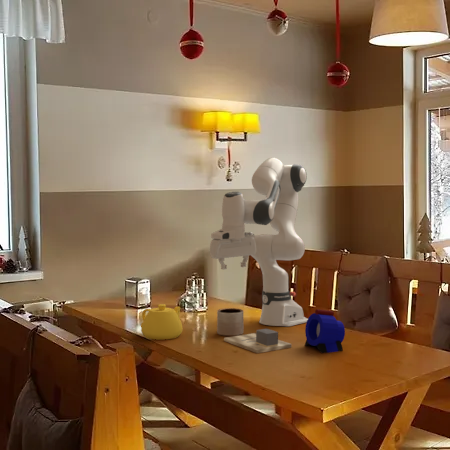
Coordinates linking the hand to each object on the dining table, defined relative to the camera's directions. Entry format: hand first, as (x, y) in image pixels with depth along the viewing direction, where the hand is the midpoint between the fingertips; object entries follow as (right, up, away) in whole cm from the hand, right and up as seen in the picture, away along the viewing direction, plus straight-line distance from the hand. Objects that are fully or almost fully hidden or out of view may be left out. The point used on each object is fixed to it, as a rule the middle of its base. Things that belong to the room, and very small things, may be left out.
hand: (233, 268), depth 255 cm
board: (+9, -29, -8) cm, 31 cm away
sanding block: (+12, -28, -13) cm, 33 cm away
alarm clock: (+34, -29, -13) cm, 47 cm away
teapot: (-29, -28, +8) cm, 41 cm away
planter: (-1, -28, +9) cm, 29 cm away
